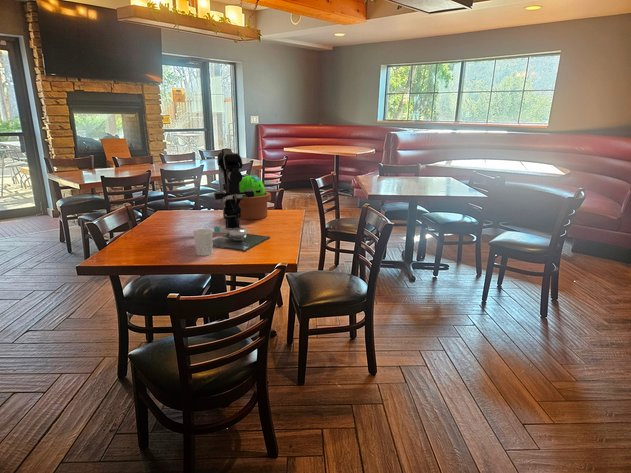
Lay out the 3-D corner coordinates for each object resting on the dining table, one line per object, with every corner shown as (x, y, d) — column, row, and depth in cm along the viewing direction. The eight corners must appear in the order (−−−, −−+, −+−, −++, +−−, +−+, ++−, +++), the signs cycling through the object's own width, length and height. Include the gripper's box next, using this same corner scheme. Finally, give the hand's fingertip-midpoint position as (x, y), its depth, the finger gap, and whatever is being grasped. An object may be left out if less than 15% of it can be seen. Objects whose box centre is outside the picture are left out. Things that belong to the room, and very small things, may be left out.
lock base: (201, 244, 191) (201, 239, 190) (229, 232, 210) (229, 228, 209) (245, 251, 182) (244, 246, 181) (270, 238, 201) (270, 233, 200)
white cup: (204, 257, 174) (202, 235, 171) (191, 254, 178) (189, 232, 175) (217, 252, 181) (216, 230, 178) (205, 249, 185) (203, 228, 182)
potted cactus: (226, 216, 244) (223, 174, 237) (258, 210, 258) (256, 170, 250) (245, 223, 228) (243, 178, 221) (278, 216, 241) (277, 174, 234)
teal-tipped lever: (249, 234, 196) (249, 228, 196) (240, 239, 190) (239, 232, 189) (221, 230, 203) (220, 224, 202) (210, 235, 196) (210, 228, 195)
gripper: (249, 176, 206) (251, 207, 211) (211, 178, 200) (213, 209, 205) (253, 180, 196) (255, 211, 201) (213, 182, 190) (216, 214, 195)
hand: (235, 211), depth 201 cm, fingers closed
